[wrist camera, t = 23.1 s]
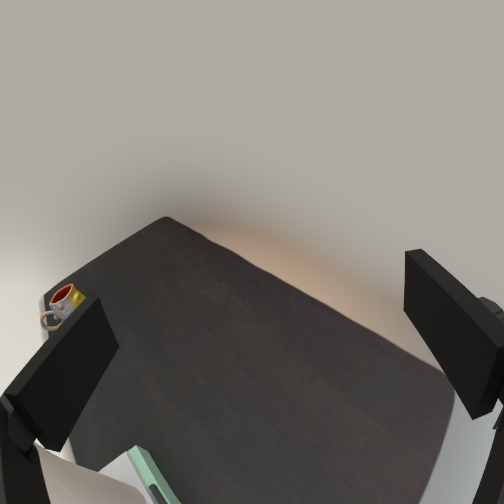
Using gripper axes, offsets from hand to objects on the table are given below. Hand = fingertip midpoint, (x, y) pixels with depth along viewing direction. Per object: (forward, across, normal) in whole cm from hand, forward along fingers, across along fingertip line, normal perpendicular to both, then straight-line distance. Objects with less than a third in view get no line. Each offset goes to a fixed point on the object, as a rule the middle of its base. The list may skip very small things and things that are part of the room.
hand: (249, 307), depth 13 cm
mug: (+38, -43, -21) cm, 61 cm away
